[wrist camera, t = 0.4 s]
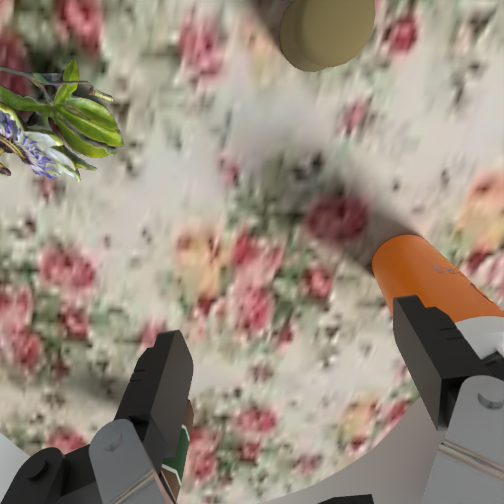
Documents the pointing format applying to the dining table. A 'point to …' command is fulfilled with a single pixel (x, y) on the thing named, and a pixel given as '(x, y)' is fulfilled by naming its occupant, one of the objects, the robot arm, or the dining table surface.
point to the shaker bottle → (442, 294)
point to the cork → (325, 32)
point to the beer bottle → (179, 454)
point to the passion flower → (64, 116)
